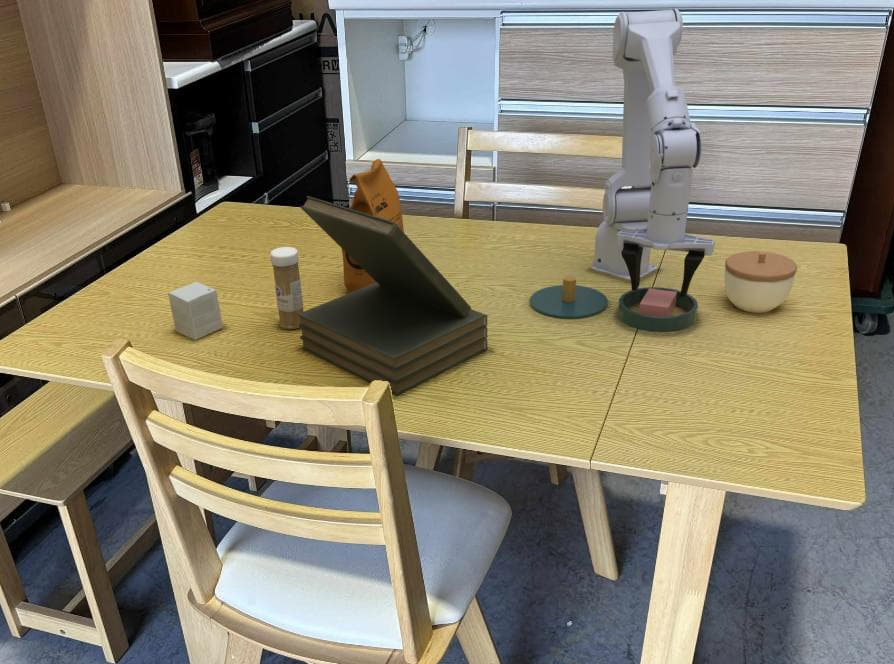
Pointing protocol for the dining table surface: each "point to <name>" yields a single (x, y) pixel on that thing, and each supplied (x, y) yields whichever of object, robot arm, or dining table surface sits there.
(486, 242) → the dining table surface
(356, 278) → the coffee package
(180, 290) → the product box
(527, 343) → the dining table surface
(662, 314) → the soap
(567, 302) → the lid
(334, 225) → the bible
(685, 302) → the tin
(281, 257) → the sprinkles bottle
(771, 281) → the trinket box
